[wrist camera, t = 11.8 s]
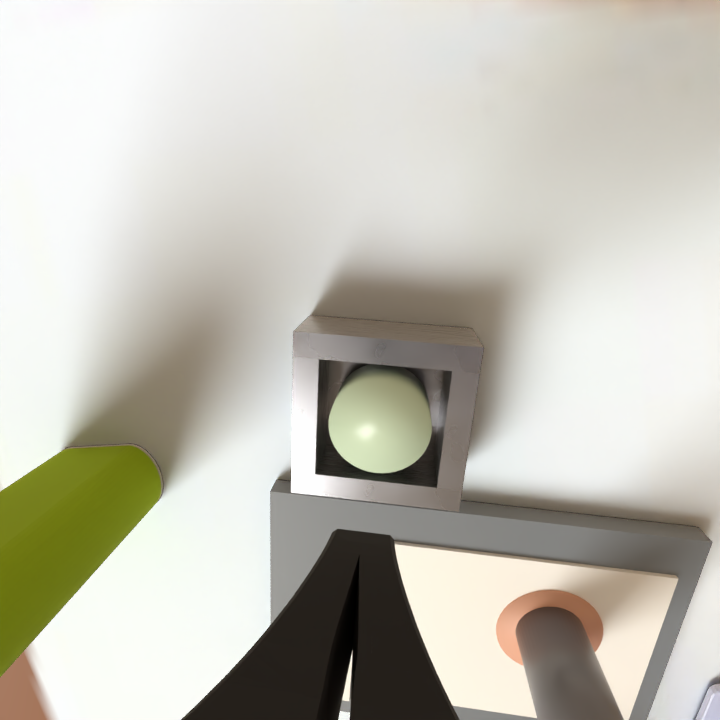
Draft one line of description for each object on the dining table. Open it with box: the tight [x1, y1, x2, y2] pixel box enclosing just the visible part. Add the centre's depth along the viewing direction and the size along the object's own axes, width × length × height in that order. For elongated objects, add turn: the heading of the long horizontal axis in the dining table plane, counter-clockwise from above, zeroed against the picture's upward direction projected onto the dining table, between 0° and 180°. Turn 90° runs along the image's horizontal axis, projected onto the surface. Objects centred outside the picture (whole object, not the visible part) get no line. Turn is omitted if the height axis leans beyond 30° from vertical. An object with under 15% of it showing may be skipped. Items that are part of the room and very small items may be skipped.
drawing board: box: [270, 480, 712, 720], centre depth 23 cm, size 20×14×1 cm
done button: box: [329, 364, 432, 473], centre depth 18 cm, size 4×4×2 cm
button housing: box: [291, 315, 484, 512], centre depth 19 cm, size 7×7×3 cm
